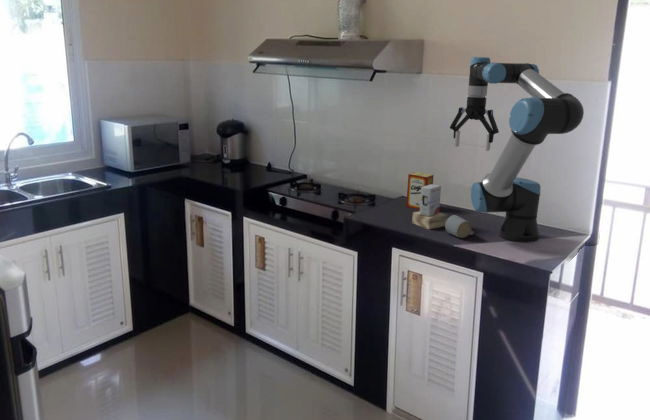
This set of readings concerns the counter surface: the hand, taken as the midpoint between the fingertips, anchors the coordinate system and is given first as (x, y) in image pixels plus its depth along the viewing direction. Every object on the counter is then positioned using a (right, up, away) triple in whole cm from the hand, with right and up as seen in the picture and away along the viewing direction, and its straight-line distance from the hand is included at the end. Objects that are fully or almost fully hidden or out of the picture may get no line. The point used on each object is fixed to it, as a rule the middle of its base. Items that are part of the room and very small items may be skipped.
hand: (471, 148), depth 230 cm
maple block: (-17, -32, +3) cm, 37 cm away
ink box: (-17, -27, +2) cm, 32 cm away
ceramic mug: (-7, -36, -10) cm, 38 cm away
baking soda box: (-17, -24, +29) cm, 42 cm away
